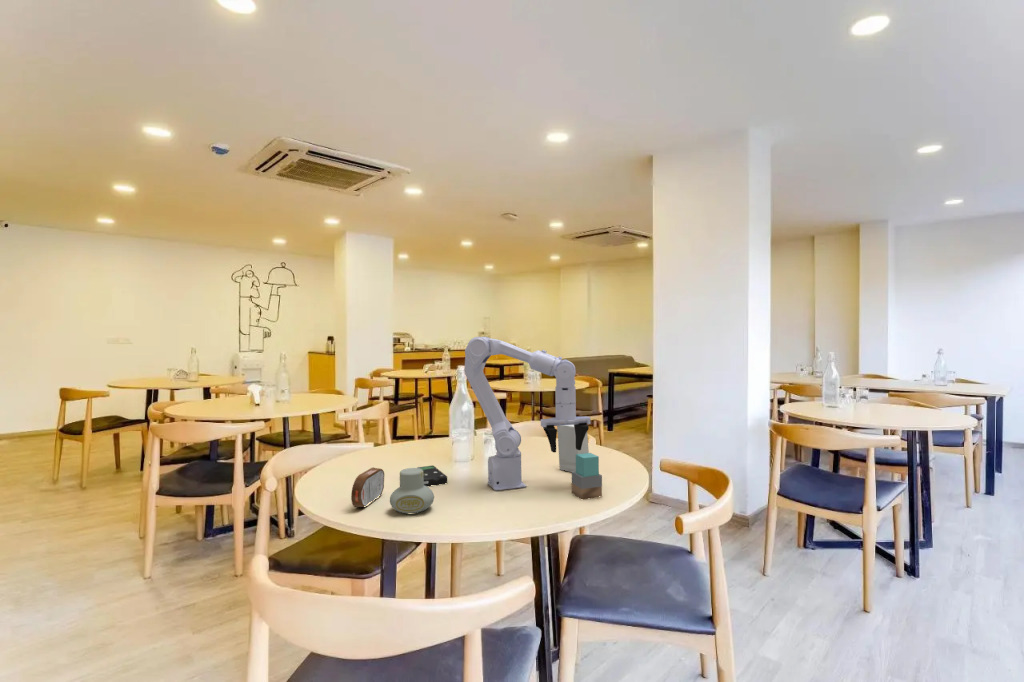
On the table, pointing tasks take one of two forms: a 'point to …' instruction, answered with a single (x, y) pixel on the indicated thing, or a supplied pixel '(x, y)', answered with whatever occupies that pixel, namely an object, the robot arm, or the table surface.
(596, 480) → the tower top
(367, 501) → the tin
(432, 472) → the disk drive
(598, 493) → the tower bottom
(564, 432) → the skincare box
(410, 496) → the air freshener
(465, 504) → the table surface
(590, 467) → the teal block
